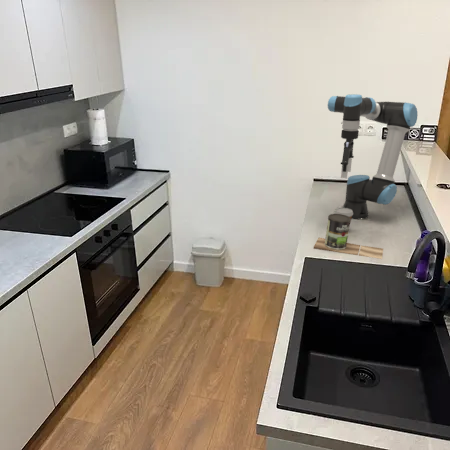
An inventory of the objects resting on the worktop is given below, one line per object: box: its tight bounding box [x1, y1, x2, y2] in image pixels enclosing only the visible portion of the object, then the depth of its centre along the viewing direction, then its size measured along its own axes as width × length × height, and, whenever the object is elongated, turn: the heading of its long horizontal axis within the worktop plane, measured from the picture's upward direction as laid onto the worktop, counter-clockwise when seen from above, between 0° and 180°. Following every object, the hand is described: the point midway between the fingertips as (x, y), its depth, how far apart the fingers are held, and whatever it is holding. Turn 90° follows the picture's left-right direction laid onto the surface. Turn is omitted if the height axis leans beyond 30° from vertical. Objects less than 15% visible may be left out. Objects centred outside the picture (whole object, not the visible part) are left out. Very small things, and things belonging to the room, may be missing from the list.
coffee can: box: [324, 213, 352, 250], centre depth 200 cm, size 10×10×14 cm
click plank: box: [313, 237, 361, 256], centre depth 202 cm, size 12×20×1 cm, turn 68°
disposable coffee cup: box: [333, 207, 353, 223], centre depth 221 cm, size 10×10×12 cm
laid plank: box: [358, 244, 384, 260], centre depth 197 cm, size 12×10×1 cm
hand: (345, 174), depth 204 cm, fingers open, 13 cm apart
